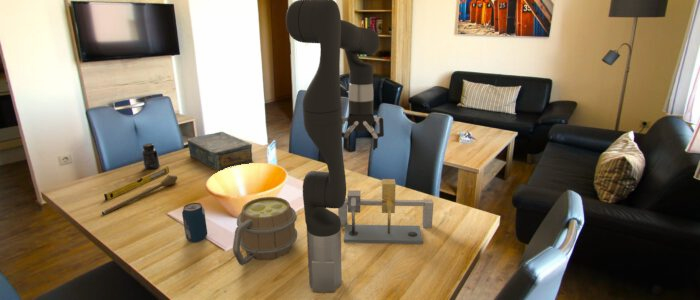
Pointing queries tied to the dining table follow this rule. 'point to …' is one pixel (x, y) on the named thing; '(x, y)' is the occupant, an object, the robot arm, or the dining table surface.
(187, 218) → the soda can
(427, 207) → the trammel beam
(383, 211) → the slide head
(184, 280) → the dining table surface
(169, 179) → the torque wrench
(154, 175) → the spirit level
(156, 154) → the supplement bottle
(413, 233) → the flange plate
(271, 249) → the mug
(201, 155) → the metal box
